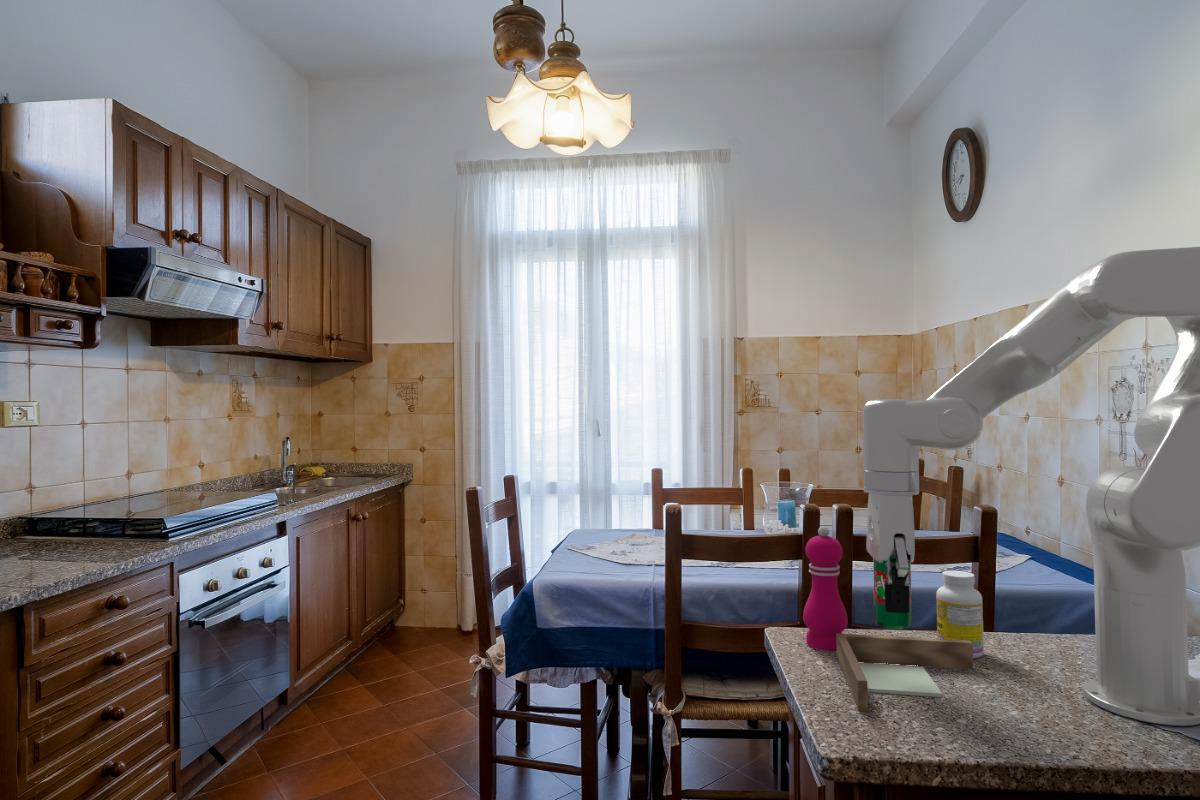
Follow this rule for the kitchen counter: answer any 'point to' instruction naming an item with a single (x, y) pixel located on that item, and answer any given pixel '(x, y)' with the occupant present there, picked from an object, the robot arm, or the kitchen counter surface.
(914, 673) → the pad
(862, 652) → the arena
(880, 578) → the soda can
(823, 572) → the pepper mill
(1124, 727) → the kitchen counter surface
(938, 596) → the supplement bottle
